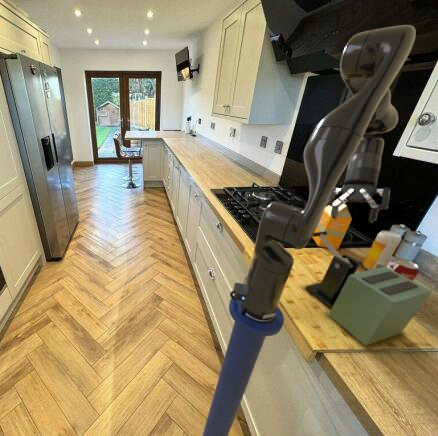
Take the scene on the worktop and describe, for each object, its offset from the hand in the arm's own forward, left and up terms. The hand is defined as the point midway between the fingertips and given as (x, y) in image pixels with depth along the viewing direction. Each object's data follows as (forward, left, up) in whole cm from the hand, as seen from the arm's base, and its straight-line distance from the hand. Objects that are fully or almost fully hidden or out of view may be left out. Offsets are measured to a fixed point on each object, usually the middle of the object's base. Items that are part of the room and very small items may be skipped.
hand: (351, 220), depth 72 cm
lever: (-5, -4, -10) cm, 12 cm away
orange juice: (+12, +29, -24) cm, 40 cm away
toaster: (+3, -18, -24) cm, 30 cm away
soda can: (+19, -1, -24) cm, 31 cm away
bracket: (-2, -9, -24) cm, 25 cm away
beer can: (+22, +13, -24) cm, 35 cm away
